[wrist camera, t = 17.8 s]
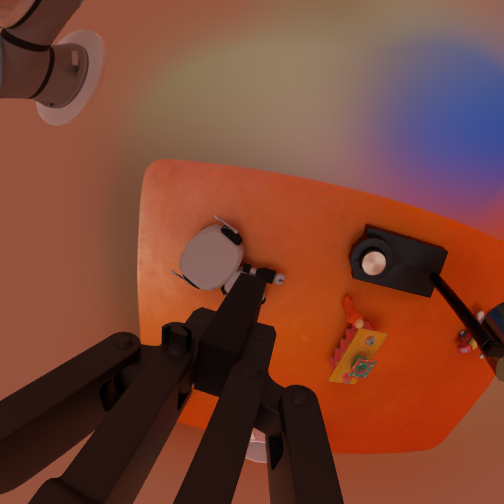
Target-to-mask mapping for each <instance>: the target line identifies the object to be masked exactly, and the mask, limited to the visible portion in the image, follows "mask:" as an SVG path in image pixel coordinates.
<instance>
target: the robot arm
mask: <svg viewBox="0 0 504 504" xmlns="http://www.w3.org/2000/svg"><path fill="white" fill-rule="evenodd" d="M82 2H83V0H0V28H3V29H2V31H1V33H0V98H22V99H23V98H24V99H25V98H27V99H33V100H35V101H37V102H39V103H41V104H42V105H44V106H46V107H49V108H56V109H58V108H63V107H65V106H66V105H68V104H69V103H70V102H72V101H73V99H74V98H75V97H76V96H77V94H78V93H79V91H80V90H81V88H82V86H83V84H84V82H85V79H86V76H87V72H88V67H89V57H88V53H87V51H86V49H85V48H84V47H83V46H81V45H78V44H75V43H67V44H59V45H52V46H51V44H52V43H53V41H54V40H55V38H56V37H57V35H58V34H59V33H60V31H61V30H62V28H63V27H64V26H65V24H66V23H67V21H68V20H69V19H70V18H71V16H72V15H73V14H74V13H75V11H76V10H77V9H78V8H79V7H80V5H81V3H82ZM266 283H267V279H265V278H261V277H257V276H254V275H250V274H246V273H242V272H241V273H240V275H239V276H238V278H237V279H236V281H235V283H234V284H233V286H232V288H231V289H230V291H229V292H228V294H227V296H226V297H225V299H224V301H223V302H222V304H221V305H220V307H219V309H218V310H217V312H216V311H213V310H210V309H206V308H203V307H201V308H199V309H197V310H195V311H193V313H192V314H191V315H190V317H189V318H188V319H187V321H186V323H180V322H171V323H168V324H165V325H164V326H163V327H162V344H161V345H160V346H149V345H142V344H141V343H140V340H139V338H138V337H137V336H136V335H134V334H132V333H129V332H118V333H115V334H113V335H111V336H109V337H108V338H106V339H104V340H103V341H101V342H99V343H98V344H96V345H94V346H92V347H91V348H89V349H87V350H86V351H84V352H82V353H81V354H79V355H77V356H76V357H74V358H72V359H70V360H69V361H67V362H66V363H64V364H62V365H60V366H59V367H57V368H55V369H54V370H52V371H50V372H49V373H47V374H45V375H43V376H42V377H40V378H38V379H37V380H35V381H33V382H31V383H30V384H28V385H26V386H25V387H23V388H21V389H20V390H18V391H16V392H15V393H13V394H11V395H9V396H8V397H6V398H4V399H3V400H1V401H0V494H3V493H6V492H9V491H11V490H13V489H15V488H17V487H18V486H20V485H22V484H23V483H25V482H26V481H27V480H29V479H30V478H32V477H33V476H34V475H36V474H37V473H38V472H40V471H41V470H43V469H44V468H46V467H47V466H48V465H50V464H51V463H52V462H53V461H55V460H56V459H58V458H59V457H60V456H62V455H63V454H64V453H66V452H67V451H68V450H70V449H71V448H72V447H74V446H75V445H76V444H78V443H79V442H80V441H82V440H83V439H84V438H85V437H87V436H88V435H89V434H91V433H92V432H93V431H94V430H95V432H94V433H93V434H92V436H91V437H90V438H89V440H88V441H87V442H86V444H85V445H84V446H83V448H82V449H81V450H80V452H79V453H78V454H77V456H76V457H75V458H74V460H73V461H72V463H71V464H70V465H69V467H68V468H67V469H66V471H65V472H64V473H63V474H62V476H60V477H58V478H50V479H49V480H47V481H46V482H44V484H43V485H42V486H41V487H40V488H39V490H38V491H37V492H36V494H35V495H34V496H33V498H32V499H31V500H30V502H29V503H28V504H133V502H134V500H135V499H136V497H137V495H138V493H139V491H140V489H141V488H142V486H143V484H144V482H145V480H146V478H147V476H148V474H149V473H150V471H151V469H152V467H153V465H154V463H155V461H156V459H157V458H158V456H159V454H160V452H161V450H162V448H163V446H164V444H165V443H166V441H167V439H168V437H169V435H170V433H171V431H172V429H173V428H174V426H175V424H176V422H177V420H178V418H179V416H180V414H181V412H182V410H183V409H184V407H185V405H186V403H187V401H188V399H189V396H190V389H191V387H192V385H193V383H194V389H196V390H199V391H202V392H205V393H208V394H211V395H214V396H218V397H220V398H219V400H218V402H217V405H216V407H215V409H214V412H213V414H212V416H211V419H210V421H209V423H208V426H207V428H206V430H205V433H204V435H203V437H202V440H201V442H200V444H199V447H198V449H197V451H196V453H195V456H194V458H193V460H192V462H191V465H190V467H189V469H188V472H187V474H186V476H185V478H184V481H183V483H182V485H181V487H180V489H179V492H178V494H177V496H176V498H175V500H174V502H173V504H231V502H232V499H233V495H234V492H235V489H236V486H237V482H238V479H239V476H240V473H241V469H242V466H243V463H244V459H245V456H246V452H247V449H248V445H249V442H250V438H251V435H252V431H253V428H255V429H257V430H259V431H261V432H262V433H264V434H265V443H266V455H267V467H268V478H269V491H270V503H271V504H344V502H343V498H342V494H341V489H340V485H339V481H338V477H337V473H336V469H335V465H334V461H333V457H332V453H331V449H330V445H329V441H328V437H327V433H326V429H325V425H324V421H323V418H322V414H321V410H320V406H319V402H318V399H317V396H316V395H315V393H314V392H313V391H312V390H311V389H309V388H307V387H305V386H301V385H291V386H288V387H286V388H284V387H282V386H280V385H278V384H277V383H275V382H274V381H273V380H272V379H271V377H270V376H269V373H268V367H269V363H270V359H271V355H272V351H273V347H274V342H275V338H276V331H275V329H274V327H273V326H269V325H265V324H262V323H258V322H257V320H258V316H259V312H260V308H261V303H262V299H263V295H264V291H265V287H266Z"/></svg>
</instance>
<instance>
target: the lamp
mask: <svg viewBox="0 0 504 504" xmlns="http://www.w3.org/2000/svg"><path fill="white" fill-rule="evenodd" d="M429 279H430V281H431V282H432V284H433V285H434V286H435V287H436V289H437V290H438V291H439V292H440V294H441V295H442V296H443V297H444V299H445V300H446V301H447V303H448V304H449V305H450V307H451V308H452V309H453V311H454V312H455V313H456V315H457V316H458V317H459V319H460V320H461V321H462V323H463V324H464V326H465V327H466V328H467V330H468V331H469V333H470V334H471V336H472V337H473V338H474V340H475V341H476V343H477V346H478V348H479V349H480V351H481V353H482V354H483V356H484V357H485V359H486V360H487V362H488V363H489V365H490V367H491V368H492V370H493V372H494V373H495V375H496V376H497V378H498V379H499V380H500V381H504V302H503V303H501V304H499V305H497V306H496V307H494V308H493V309H492V310H491V311H490V312H489V313H488V314H487V315H486V317H485V318H484V320H483V321H482V323H481V324H480V322H479V321H478V320H477V319H476V317H475V316H474V315H473V314H472V312H471V311H470V310H469V309H468V308H467V306H466V305H465V304H464V303H463V302H462V300H461V299H460V298H459V297H458V296H457V295H456V293H455V292H454V291H453V290H452V289H451V288H450V287H449V285H448V284H447V283H446V282H445V281H444V280H443V279H442V278H441V277H440V275H439V274H438V273H436V272H433V273H431V275H430V277H429Z"/></svg>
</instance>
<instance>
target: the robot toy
mask: <svg viewBox="0 0 504 504" xmlns="http://www.w3.org/2000/svg"><path fill="white" fill-rule="evenodd" d="M215 218H216V219H217V220H219V221H221V222H222V223H224V224H225V225H224V226H220V225H217V224H215V225H210V226H208V227H206V228H205V229H203V230H201V231H200V232H199V233H198V234H197V235H196V236H195V237H193V238H192V239H191V240H190V241H189V242H188V244H187V246H186V247H185V249H184V251H183V253H182V256H181V258H180V269H181V272H182V274H183V277H184V278H183V277H182V276H180V275H178V274H177V273H175V272H174V271H173V270H170V272H171V273H172V274H175V275H176V276H178V277H179V278H181V279H183V280H184V281H186V282H188V284H189V285H192V286H194V287H196V288H198V289H202V290H206V291H208V290H214V289H216V288H218V287H220V286H222V285H223V284H224V283H225V285H223V286H222V287H221V291H222V293H223V295H227V294H228V292H229V291H230V289H231V288H232V286H233V284H234V283H235V281H236V279H237V278H238V276H239V275H240V273H241V272H242V273H246V274H250V275H254V276H257V277H261V278H265V279H267V283H271V284H272V283H273V281H274V282H275V283H276V284H279V285H282V284H284V281H283V280H285V276H284V275H283V274H275V273H276V271H275V270H272V269H268V268H259V269H255V268H252V266H251V265H250V264H247V263H244V266H240V267H239V265H240V263H241V261H242V259H243V256H244V246H243V244H242V243H241V242H242V238H241V236H240V235H239V233H238V230H237V229H235V228H233V227H231V226H230V225H228V224H227V223H226V222H224V221H223V220H221V219H220V218H219V217H218V216H215ZM280 279H282V280H280ZM265 292H266V288H265V291H264V295H263V299H262V303H261V305H262V304H264V302H265V300H266V299H265Z"/></svg>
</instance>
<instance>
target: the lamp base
mask: <svg viewBox="0 0 504 504" xmlns="http://www.w3.org/2000/svg"><path fill="white" fill-rule="evenodd" d="M369 248H376V249H378V250H380V251H381V252H382V254H383V255H384V257H385V260H386V265H385V268H384V270H383V271H382V272H381V273H379V274H377V275H369V274H367V273H366V272H365V271H364V270H363V267H362V265H361V261H360V259H361V255H362V253H363V252H364V251H365V250H367V249H369ZM447 254H448V251H447V250H445V249H444V248H443V247H440V246H437V245H434V244H431V243H428V242H425V241H421V240H418V239H415V238H412V237H409V236H405V235H402V234H399V233H395V232H392V231H389V230H385V229H382V228H378V227H375V226H371V225H368V224H366V226H365V230H364V233H363V237H360V238H359V239H358V240H357V241H356V242H355V243H354V244H353V245H352V247H351V250H350V254H349V260H350V264H351V268H352V272H351V274H352V278H354V279H357V280H361V281H365V282H369V283H373V284H377V285H381V286H385V287H389V288H393V289H397V290H401V291H405V292H409V293H413V294H417V295H421V296H425V297H429V298H430V297H431V295H432V292H433V290H434V288H435V286H434V285H433V284H432V282H431V281H430V279H429V277H430V275H431V273H433V272H436V273H438V274H439V275H440V273H441V270H442V267H443V265H444V262H445V259H446V257H447Z"/></svg>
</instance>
